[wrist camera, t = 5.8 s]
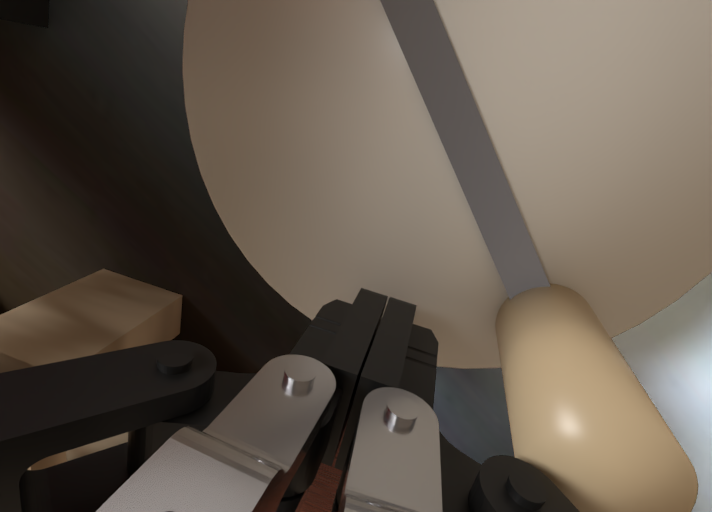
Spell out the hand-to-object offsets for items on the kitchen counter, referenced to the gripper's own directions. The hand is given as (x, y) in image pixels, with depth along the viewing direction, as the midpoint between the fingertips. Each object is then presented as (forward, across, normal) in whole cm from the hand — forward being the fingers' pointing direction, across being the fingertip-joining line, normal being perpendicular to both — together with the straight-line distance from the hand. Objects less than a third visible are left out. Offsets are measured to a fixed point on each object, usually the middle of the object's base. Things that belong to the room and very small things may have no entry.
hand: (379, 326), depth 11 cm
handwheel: (+2, 0, -6) cm, 6 cm away
